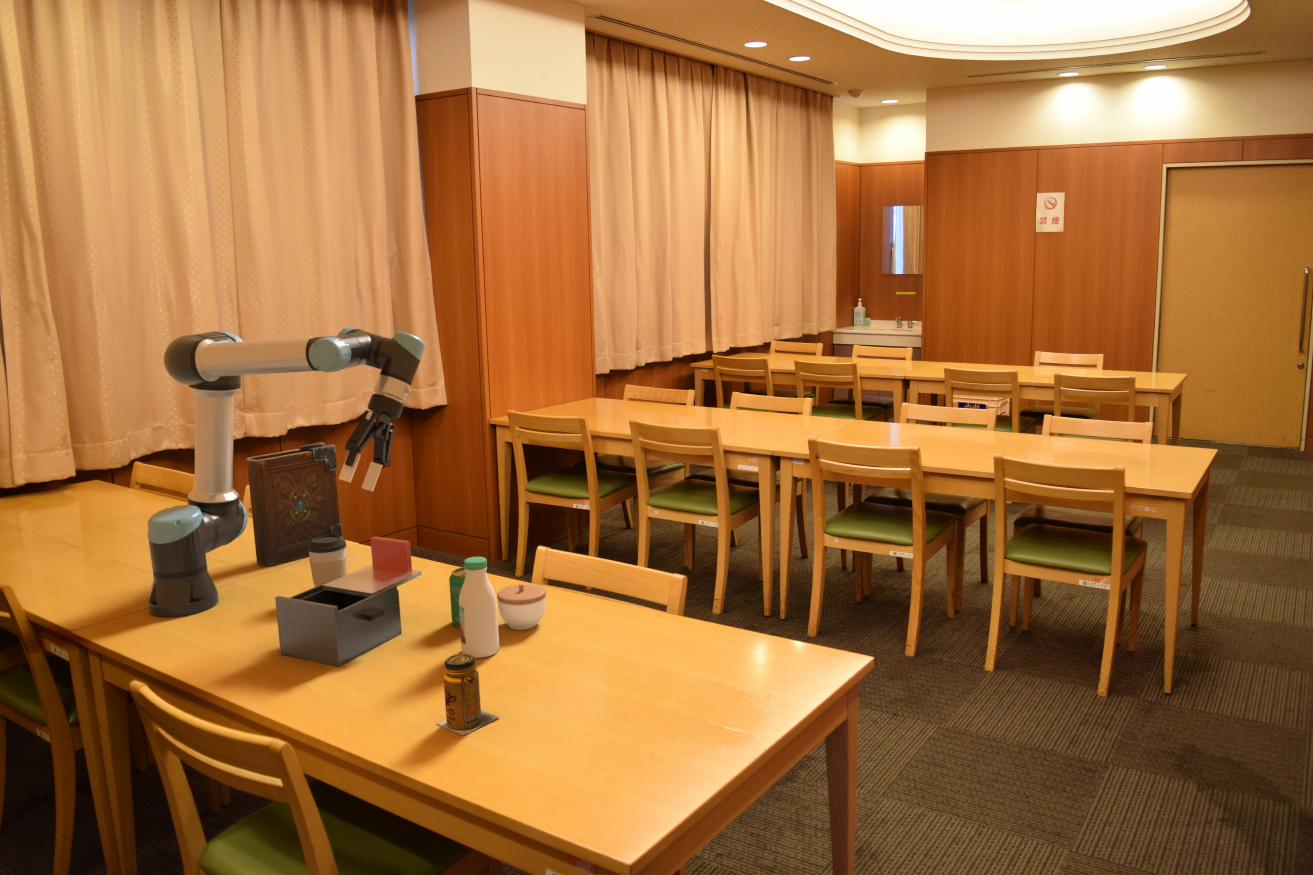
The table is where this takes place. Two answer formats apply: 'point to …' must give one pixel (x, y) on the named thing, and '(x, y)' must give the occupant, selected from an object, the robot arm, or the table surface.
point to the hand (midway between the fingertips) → (356, 485)
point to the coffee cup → (327, 558)
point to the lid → (378, 569)
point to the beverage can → (456, 593)
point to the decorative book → (293, 501)
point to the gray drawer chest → (336, 624)
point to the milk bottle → (478, 611)
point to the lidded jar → (522, 605)
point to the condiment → (463, 696)
